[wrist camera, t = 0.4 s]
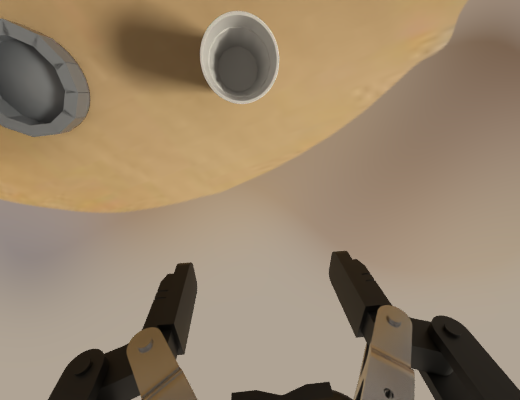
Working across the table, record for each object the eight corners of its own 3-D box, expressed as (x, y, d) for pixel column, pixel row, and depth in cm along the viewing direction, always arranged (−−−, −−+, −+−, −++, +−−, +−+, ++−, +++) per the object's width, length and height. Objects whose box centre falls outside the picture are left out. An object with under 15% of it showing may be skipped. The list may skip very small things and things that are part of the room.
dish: (-44, 32, 28) (-75, 25, 25) (63, 22, 29) (45, 14, 26) (17, 137, 34) (-3, 141, 31) (104, 126, 35) (93, 129, 32)
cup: (226, 108, 35) (223, 116, 25) (200, 53, 32) (183, 34, 21) (272, 86, 35) (290, 84, 24) (251, 27, 31) (261, -6, 20)
